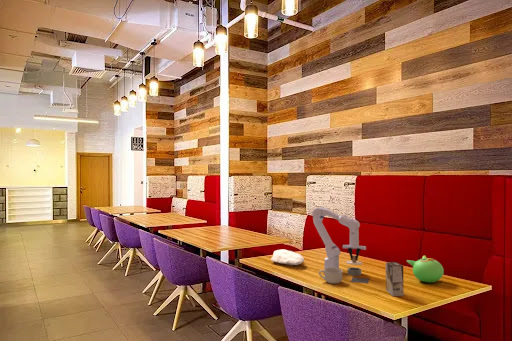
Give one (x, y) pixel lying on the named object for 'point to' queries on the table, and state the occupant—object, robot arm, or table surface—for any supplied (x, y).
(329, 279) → the teacup
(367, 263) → the table surface
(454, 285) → the table surface
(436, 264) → the green teapot
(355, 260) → the lid
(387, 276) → the coffee box
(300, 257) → the crumpled cloth
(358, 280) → the mat
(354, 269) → the bowl
